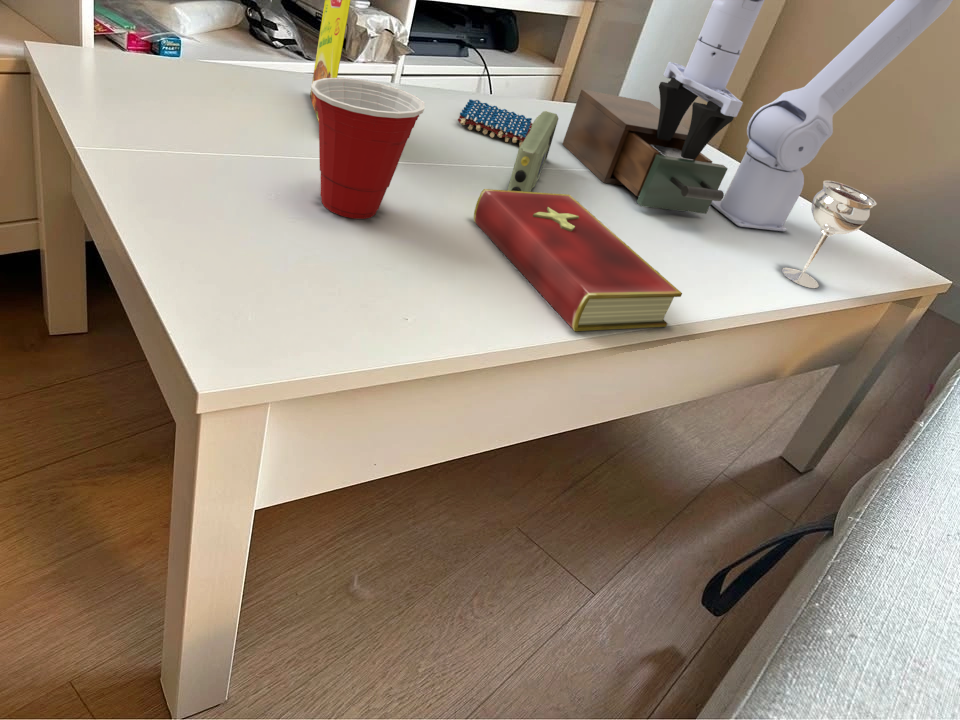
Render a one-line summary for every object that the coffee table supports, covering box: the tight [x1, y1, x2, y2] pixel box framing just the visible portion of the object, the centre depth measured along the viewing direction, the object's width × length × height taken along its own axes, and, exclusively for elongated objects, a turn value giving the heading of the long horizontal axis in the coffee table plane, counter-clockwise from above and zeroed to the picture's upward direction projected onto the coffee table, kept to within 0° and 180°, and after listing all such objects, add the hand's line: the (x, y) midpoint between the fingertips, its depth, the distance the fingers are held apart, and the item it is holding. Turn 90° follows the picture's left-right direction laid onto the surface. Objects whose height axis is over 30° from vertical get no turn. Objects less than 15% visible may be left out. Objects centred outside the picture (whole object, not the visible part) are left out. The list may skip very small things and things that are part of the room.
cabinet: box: [561, 88, 689, 187], centre depth 113 cm, size 14×13×9 cm
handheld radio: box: [507, 110, 559, 192], centre depth 96 cm, size 7×3×25 cm
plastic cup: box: [310, 77, 426, 220], centre depth 75 cm, size 11×11×12 cm
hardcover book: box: [473, 188, 683, 332], centre depth 79 cm, size 12×21×4 cm, turn 28°
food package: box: [309, 0, 352, 123], centre depth 92 cm, size 15×1×20 cm, turn 17°
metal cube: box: [650, 145, 692, 160], centre depth 105 cm, size 5×4×5 cm
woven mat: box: [457, 98, 533, 147], centre depth 114 cm, size 10×11×2 cm
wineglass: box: [781, 180, 878, 289], centre depth 95 cm, size 7×7×12 cm
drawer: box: [612, 130, 728, 215], centre depth 105 cm, size 17×11×7 cm
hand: (675, 148), depth 104 cm, fingers open, 6 cm apart
